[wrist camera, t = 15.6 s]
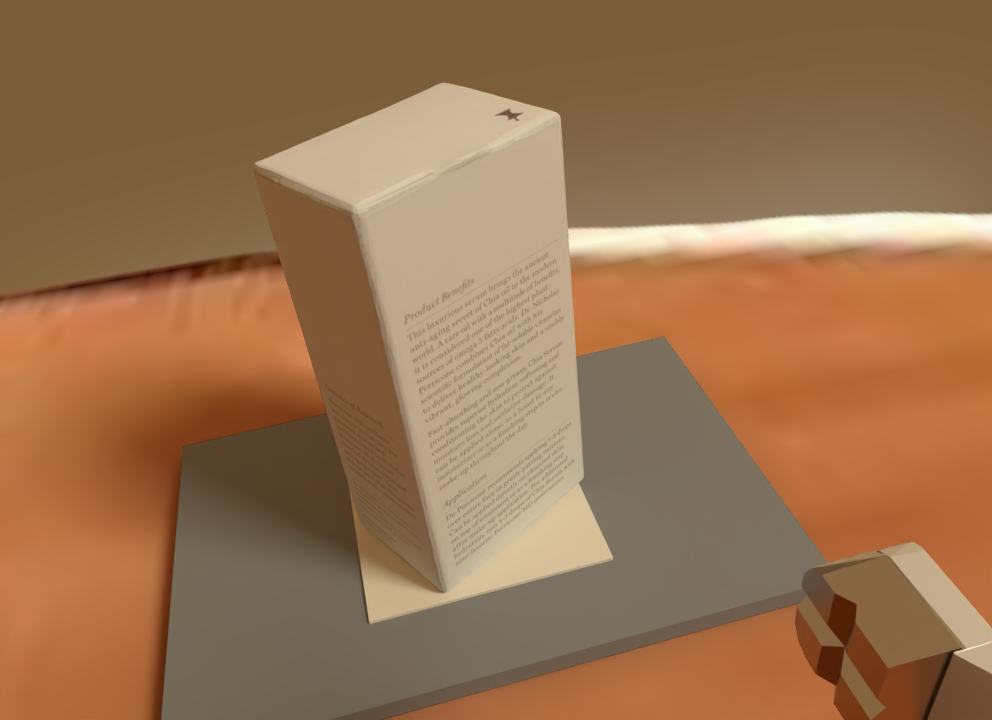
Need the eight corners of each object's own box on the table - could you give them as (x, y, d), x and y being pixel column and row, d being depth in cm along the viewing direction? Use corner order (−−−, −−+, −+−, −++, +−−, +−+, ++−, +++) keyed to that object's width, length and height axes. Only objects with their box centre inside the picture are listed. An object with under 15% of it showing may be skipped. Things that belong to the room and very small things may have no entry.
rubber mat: (165, 779, 21) (156, 764, 21) (188, 458, 30) (182, 444, 30) (836, 592, 23) (839, 576, 23) (663, 349, 33) (664, 334, 32)
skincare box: (493, 424, 29) (447, 76, 22) (587, 482, 27) (570, 109, 20) (350, 526, 26) (243, 159, 19) (442, 603, 24) (358, 211, 16)
